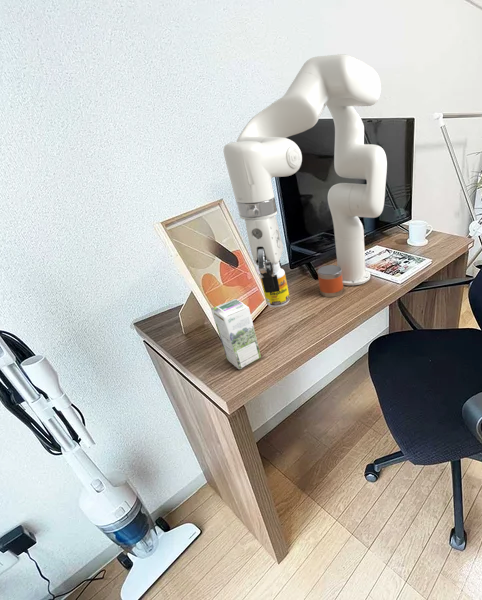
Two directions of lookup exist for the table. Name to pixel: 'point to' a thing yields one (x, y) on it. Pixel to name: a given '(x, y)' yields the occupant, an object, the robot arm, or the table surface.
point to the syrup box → (236, 333)
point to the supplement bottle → (283, 295)
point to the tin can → (330, 280)
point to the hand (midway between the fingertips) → (274, 284)
